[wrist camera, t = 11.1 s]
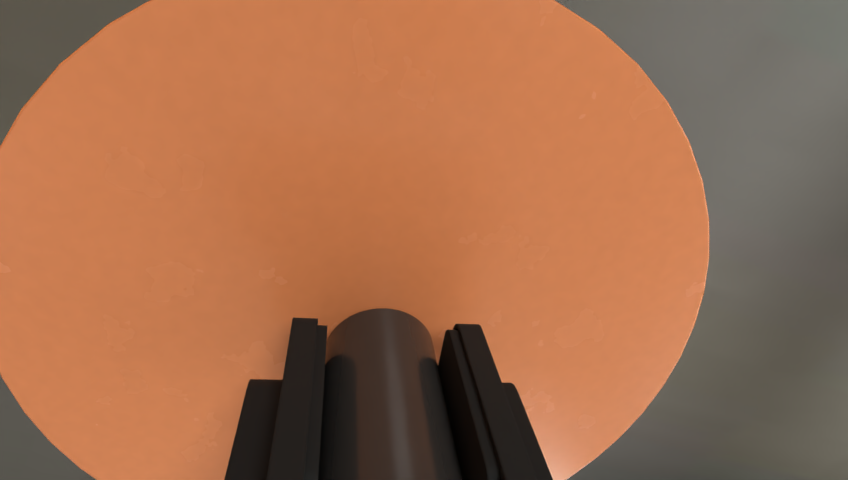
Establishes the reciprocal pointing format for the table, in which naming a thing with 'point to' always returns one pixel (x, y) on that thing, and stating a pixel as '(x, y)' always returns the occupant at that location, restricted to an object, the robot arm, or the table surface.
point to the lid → (343, 230)
